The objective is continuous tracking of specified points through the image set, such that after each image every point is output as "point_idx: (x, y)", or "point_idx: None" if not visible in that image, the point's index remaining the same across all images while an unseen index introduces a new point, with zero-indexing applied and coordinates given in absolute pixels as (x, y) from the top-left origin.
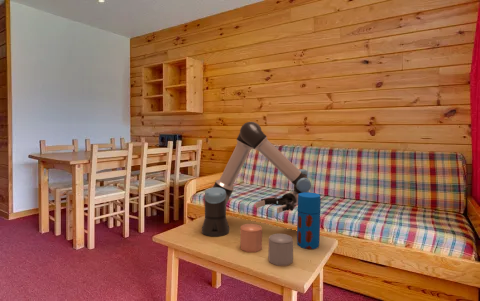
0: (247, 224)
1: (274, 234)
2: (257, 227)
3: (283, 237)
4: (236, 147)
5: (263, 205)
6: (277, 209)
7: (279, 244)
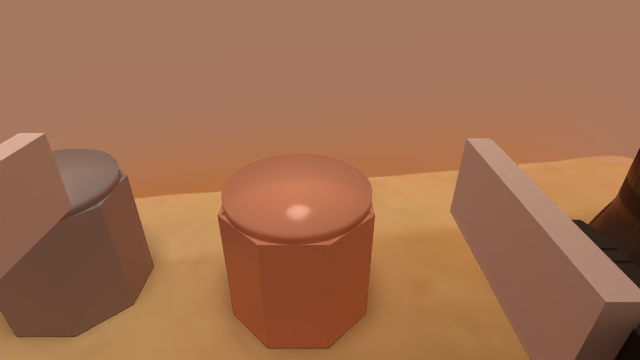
0: (356, 200)
1: (92, 189)
2: (257, 202)
3: None
4: None
5: (527, 340)
6: (48, 160)
7: None
